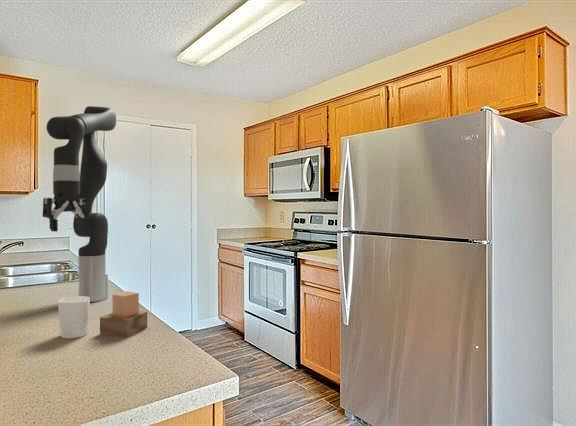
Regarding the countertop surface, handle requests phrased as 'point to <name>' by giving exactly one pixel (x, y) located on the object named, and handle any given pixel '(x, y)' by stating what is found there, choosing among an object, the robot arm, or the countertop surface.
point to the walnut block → (123, 324)
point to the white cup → (74, 316)
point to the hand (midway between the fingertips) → (67, 230)
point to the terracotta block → (125, 304)
